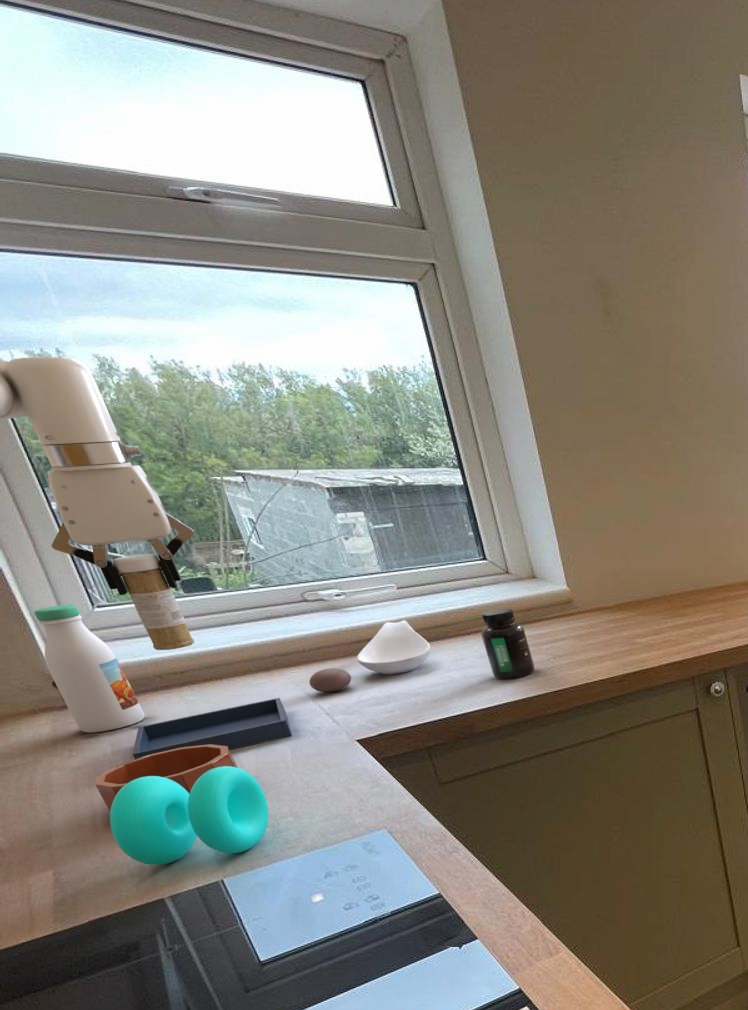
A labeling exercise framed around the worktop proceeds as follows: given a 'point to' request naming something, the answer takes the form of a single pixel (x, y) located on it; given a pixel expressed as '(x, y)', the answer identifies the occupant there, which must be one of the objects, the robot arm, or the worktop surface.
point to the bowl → (165, 768)
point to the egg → (330, 680)
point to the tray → (216, 729)
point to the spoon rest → (394, 649)
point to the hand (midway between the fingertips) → (148, 588)
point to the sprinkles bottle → (154, 601)
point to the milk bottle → (87, 672)
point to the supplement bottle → (506, 645)
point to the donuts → (188, 815)
